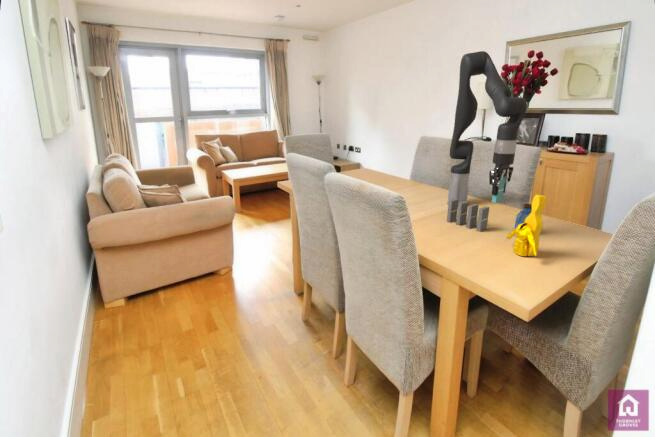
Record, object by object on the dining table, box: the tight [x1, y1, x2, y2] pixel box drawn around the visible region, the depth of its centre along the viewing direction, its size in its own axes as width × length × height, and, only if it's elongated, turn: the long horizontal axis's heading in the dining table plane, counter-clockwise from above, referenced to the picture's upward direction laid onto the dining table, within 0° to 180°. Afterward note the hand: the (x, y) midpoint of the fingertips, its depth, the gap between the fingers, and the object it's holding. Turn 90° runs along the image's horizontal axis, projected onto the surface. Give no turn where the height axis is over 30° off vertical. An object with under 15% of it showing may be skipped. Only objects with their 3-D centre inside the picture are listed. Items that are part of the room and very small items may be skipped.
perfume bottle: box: [513, 203, 532, 230], centre depth 151 cm, size 6×6×12 cm
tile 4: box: [476, 206, 490, 233], centre depth 153 cm, size 5×2×10 cm, turn 127°
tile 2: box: [455, 201, 469, 226], centre depth 161 cm, size 5×2×10 cm, turn 126°
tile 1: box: [446, 199, 459, 223], centre depth 165 cm, size 5×2×10 cm, turn 126°
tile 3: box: [465, 203, 480, 230], centre depth 157 cm, size 5×2×10 cm, turn 126°
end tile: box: [491, 177, 505, 204], centre depth 145 cm, size 5×2×10 cm, turn 126°
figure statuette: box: [505, 194, 547, 257], centre depth 128 cm, size 18×8×22 cm, turn 6°
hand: (498, 193), depth 146 cm, fingers closed on end tile, 5 cm apart
